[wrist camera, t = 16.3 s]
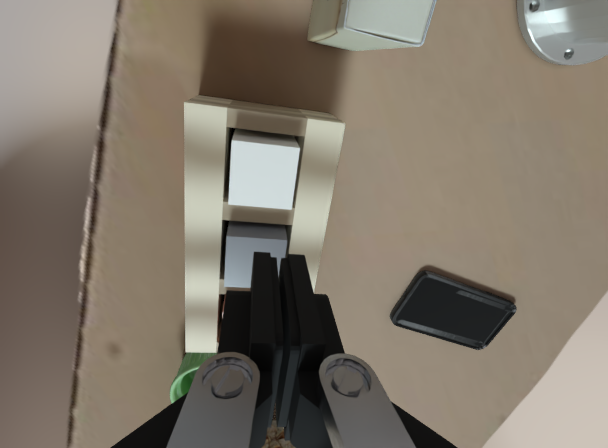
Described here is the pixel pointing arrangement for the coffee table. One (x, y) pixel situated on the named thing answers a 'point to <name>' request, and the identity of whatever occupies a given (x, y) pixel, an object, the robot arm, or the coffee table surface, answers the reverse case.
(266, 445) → the pine cone
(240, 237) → the grey rectangular block
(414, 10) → the skincare box
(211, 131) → the wooden compartment tray
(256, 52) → the coffee table surface
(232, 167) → the white key
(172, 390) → the ramekin
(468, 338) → the phone
